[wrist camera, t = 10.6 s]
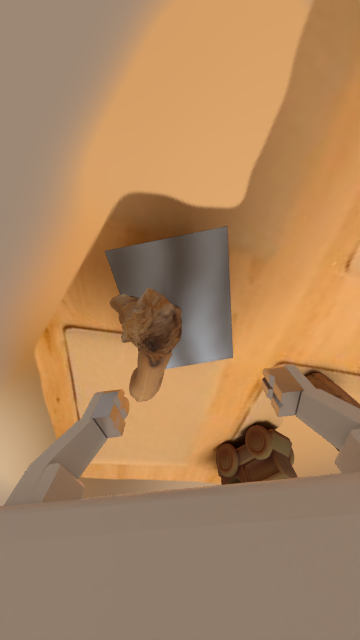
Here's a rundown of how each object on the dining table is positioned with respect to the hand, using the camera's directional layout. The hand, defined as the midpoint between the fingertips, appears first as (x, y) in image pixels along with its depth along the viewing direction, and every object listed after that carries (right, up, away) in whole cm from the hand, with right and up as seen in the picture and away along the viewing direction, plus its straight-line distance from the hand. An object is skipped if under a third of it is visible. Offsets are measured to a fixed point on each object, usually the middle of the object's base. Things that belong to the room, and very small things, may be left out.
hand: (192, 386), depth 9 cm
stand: (-1, +8, +16) cm, 18 cm away
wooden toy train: (+18, -30, +37) cm, 51 cm away
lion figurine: (-3, +3, +11) cm, 12 cm away
